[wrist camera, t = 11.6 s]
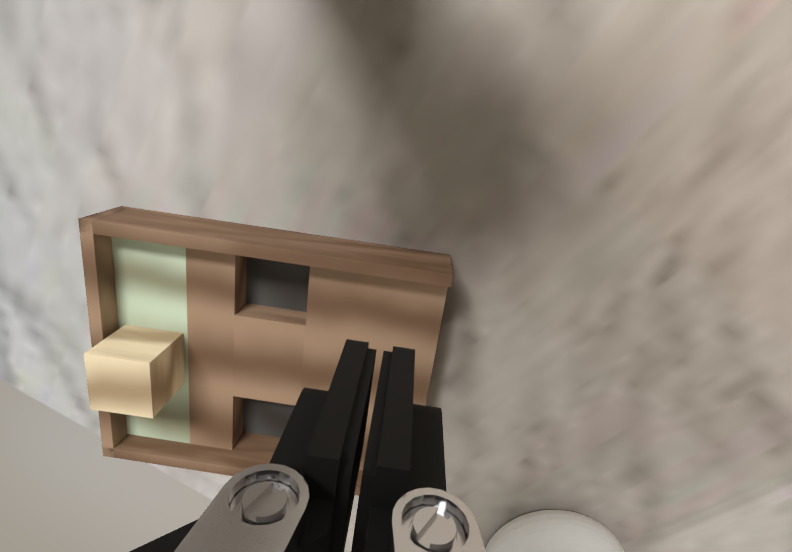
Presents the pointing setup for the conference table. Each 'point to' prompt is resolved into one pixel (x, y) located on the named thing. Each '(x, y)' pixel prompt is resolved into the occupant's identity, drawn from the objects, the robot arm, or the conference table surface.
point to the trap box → (250, 325)
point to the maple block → (135, 370)
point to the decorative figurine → (553, 534)
